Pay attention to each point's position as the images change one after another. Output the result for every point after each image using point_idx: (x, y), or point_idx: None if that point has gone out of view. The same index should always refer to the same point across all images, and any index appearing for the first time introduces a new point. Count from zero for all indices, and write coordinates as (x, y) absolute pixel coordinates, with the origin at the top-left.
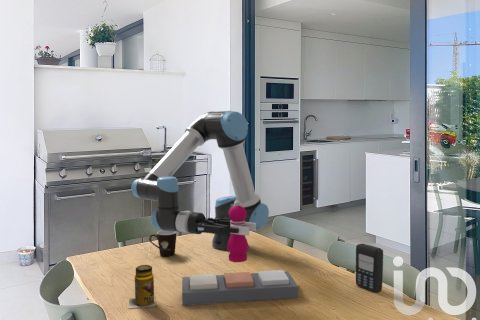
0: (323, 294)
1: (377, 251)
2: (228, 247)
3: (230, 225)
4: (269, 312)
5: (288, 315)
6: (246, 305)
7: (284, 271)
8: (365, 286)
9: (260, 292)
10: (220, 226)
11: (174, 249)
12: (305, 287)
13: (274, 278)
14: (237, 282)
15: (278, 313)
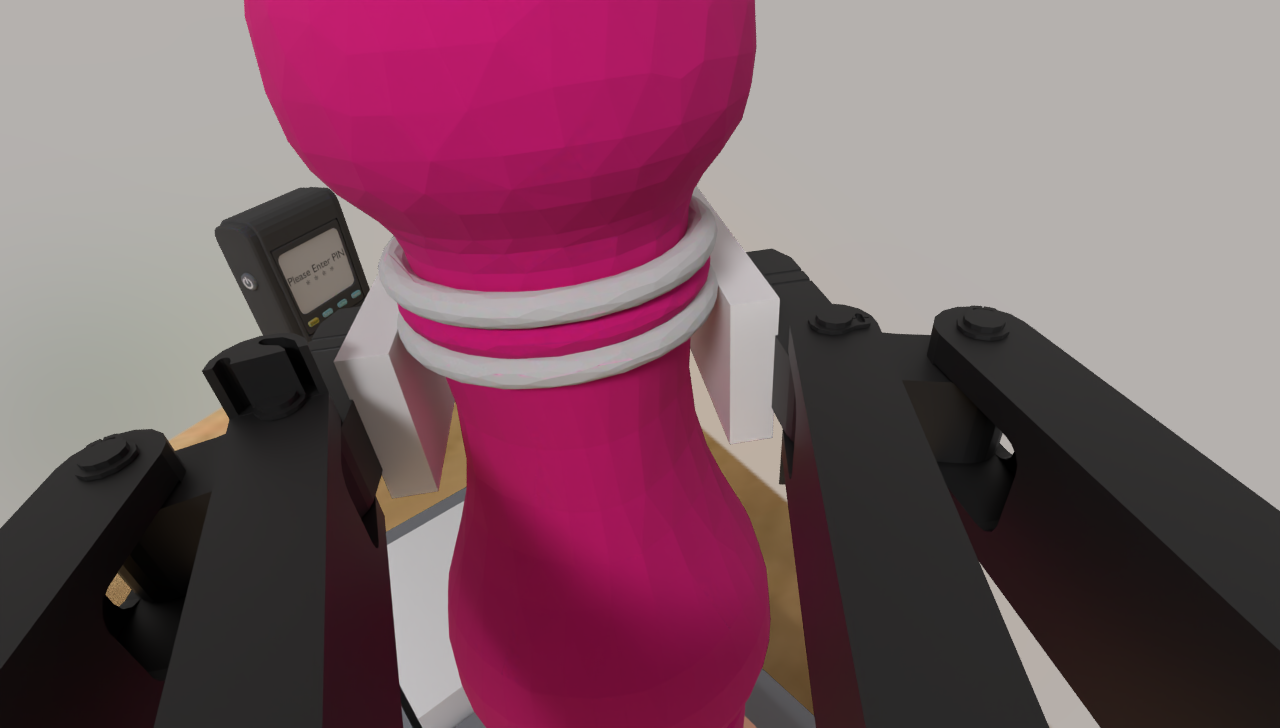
0: (453, 444)
1: (330, 192)
2: (759, 652)
3: (769, 299)
4: (769, 523)
5: (735, 457)
6: (791, 663)
7: None
8: None
9: None
10: (1012, 389)
11: None
12: (386, 527)
13: None
14: (750, 723)
15: (748, 491)
